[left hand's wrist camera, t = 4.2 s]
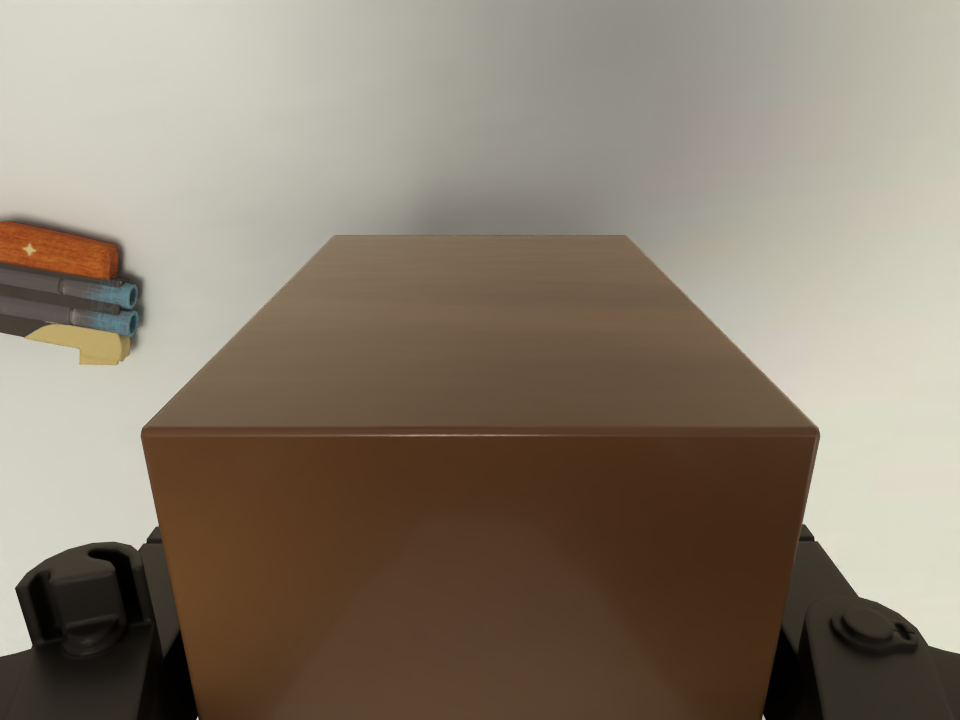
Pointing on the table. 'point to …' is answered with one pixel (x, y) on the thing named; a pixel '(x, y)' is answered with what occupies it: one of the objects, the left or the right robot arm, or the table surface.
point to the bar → (480, 493)
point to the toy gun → (65, 293)
